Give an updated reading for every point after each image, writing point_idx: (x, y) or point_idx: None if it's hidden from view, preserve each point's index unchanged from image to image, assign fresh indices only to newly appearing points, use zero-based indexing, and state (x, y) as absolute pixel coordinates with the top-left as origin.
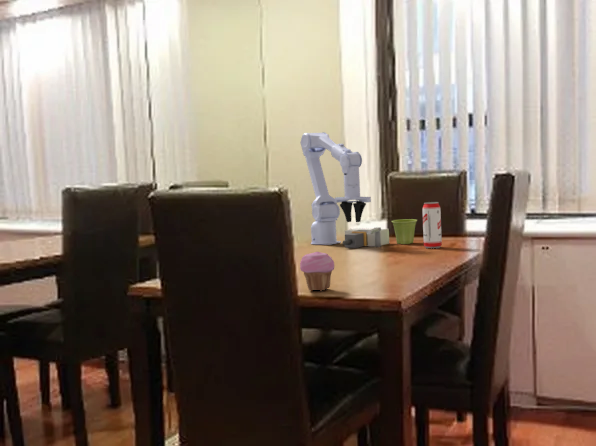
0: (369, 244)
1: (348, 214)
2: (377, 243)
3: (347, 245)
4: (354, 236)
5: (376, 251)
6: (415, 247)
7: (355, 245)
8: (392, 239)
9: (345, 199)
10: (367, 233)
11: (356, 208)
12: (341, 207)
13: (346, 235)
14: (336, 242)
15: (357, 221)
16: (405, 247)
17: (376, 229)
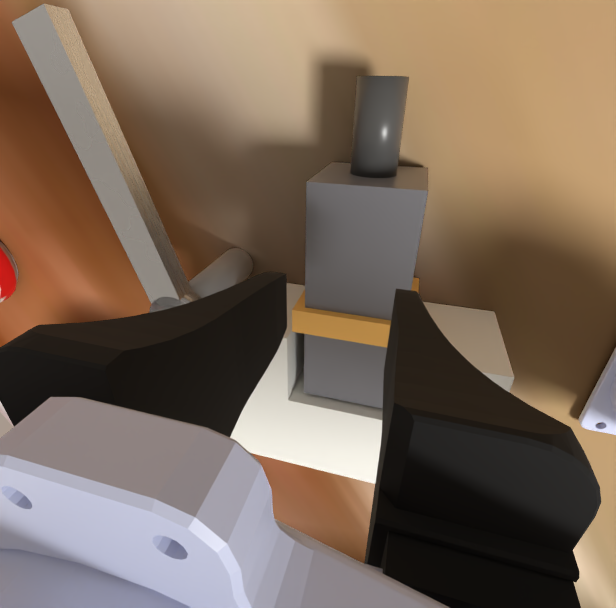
0: (300, 289)
1: (391, 364)
2: (221, 255)
3: (404, 169)
4: (318, 179)
5: (109, 40)
6: (57, 261)
7: (329, 165)
8: (326, 502)
9: (191, 432)
10: (57, 11)
11: (143, 325)
12: (514, 400)
13: (405, 186)
14: (602, 379)
15: (262, 273)
16: (95, 256)
17: (120, 234)
